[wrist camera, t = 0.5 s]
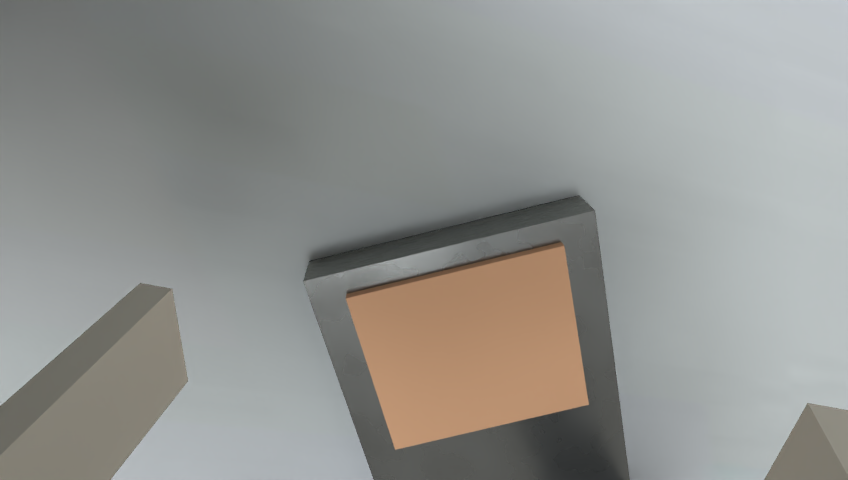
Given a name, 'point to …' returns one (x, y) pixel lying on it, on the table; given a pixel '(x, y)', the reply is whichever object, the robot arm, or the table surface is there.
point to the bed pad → (472, 345)
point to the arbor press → (505, 444)
